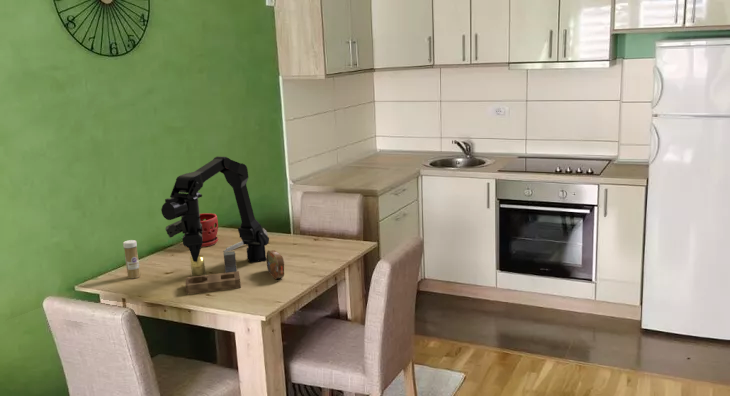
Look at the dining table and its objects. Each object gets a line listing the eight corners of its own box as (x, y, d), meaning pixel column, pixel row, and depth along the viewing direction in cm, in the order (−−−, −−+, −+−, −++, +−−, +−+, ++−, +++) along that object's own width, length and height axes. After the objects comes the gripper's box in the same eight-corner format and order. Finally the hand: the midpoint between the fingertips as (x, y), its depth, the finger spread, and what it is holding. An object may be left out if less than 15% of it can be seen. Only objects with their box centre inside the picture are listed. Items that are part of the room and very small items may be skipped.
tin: (266, 270, 249) (264, 247, 247) (274, 268, 250) (273, 246, 248) (277, 282, 235) (276, 258, 233) (286, 280, 236) (285, 257, 234)
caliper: (266, 241, 286) (265, 227, 285) (268, 241, 286) (267, 227, 284) (223, 252, 274) (221, 237, 272) (224, 252, 273) (223, 237, 272)
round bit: (205, 272, 249) (203, 254, 247) (205, 276, 244) (203, 258, 243) (192, 274, 248) (190, 255, 246) (191, 278, 243) (189, 259, 242)
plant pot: (190, 241, 292) (187, 214, 289) (221, 239, 292) (219, 212, 290) (185, 249, 279) (182, 221, 276) (217, 247, 280) (214, 219, 277)
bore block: (239, 279, 240) (238, 271, 239) (240, 287, 231) (240, 279, 230) (186, 285, 236) (186, 277, 235) (186, 294, 227) (185, 285, 226)
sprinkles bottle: (133, 279, 245) (128, 243, 242) (124, 277, 247) (120, 242, 244) (143, 275, 248) (139, 240, 245) (135, 274, 251) (130, 239, 248)
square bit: (236, 269, 251) (234, 251, 249) (236, 272, 247) (235, 254, 246) (225, 270, 250) (223, 252, 249) (225, 273, 246) (223, 255, 245)
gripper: (166, 209, 234) (171, 252, 237) (164, 221, 216) (169, 268, 219) (200, 205, 236) (204, 249, 239) (200, 218, 218) (204, 264, 222)
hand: (195, 257), depth 230 cm, fingers open, 9 cm apart
